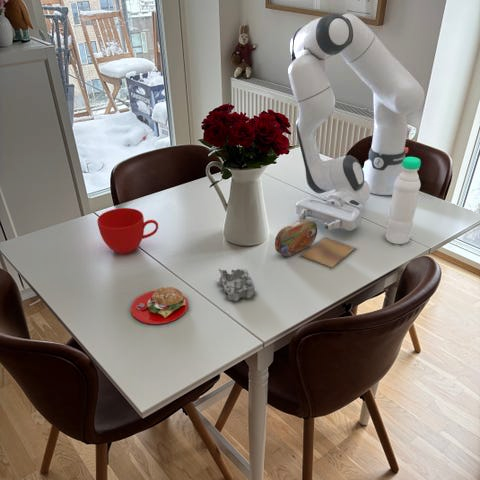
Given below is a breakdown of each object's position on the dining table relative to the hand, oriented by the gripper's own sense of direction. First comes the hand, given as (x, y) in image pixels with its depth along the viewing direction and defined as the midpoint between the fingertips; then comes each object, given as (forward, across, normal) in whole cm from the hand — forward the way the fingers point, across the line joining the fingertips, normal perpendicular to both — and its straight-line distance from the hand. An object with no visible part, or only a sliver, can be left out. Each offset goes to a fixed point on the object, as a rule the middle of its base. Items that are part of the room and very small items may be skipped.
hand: (313, 222), depth 150 cm
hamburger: (+53, -10, +5) cm, 55 cm away
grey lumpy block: (+35, 0, +5) cm, 36 cm away
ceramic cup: (+38, -38, +5) cm, 54 cm away
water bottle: (-15, +20, +5) cm, 26 cm away
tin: (+9, 0, +5) cm, 11 cm away
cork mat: (+5, +9, +5) cm, 11 cm away
